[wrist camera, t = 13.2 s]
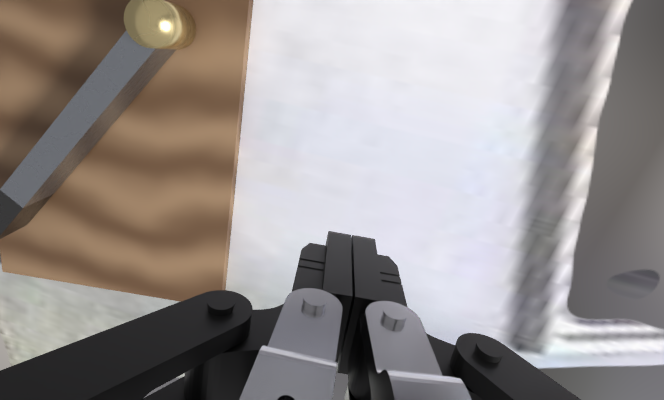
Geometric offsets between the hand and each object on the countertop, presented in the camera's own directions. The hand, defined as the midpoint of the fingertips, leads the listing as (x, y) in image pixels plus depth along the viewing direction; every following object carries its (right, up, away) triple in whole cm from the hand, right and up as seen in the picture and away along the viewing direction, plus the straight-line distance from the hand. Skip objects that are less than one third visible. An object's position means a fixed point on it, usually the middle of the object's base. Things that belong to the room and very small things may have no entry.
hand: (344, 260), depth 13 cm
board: (-22, +7, +27) cm, 35 cm away
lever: (-23, +9, +24) cm, 34 cm away
